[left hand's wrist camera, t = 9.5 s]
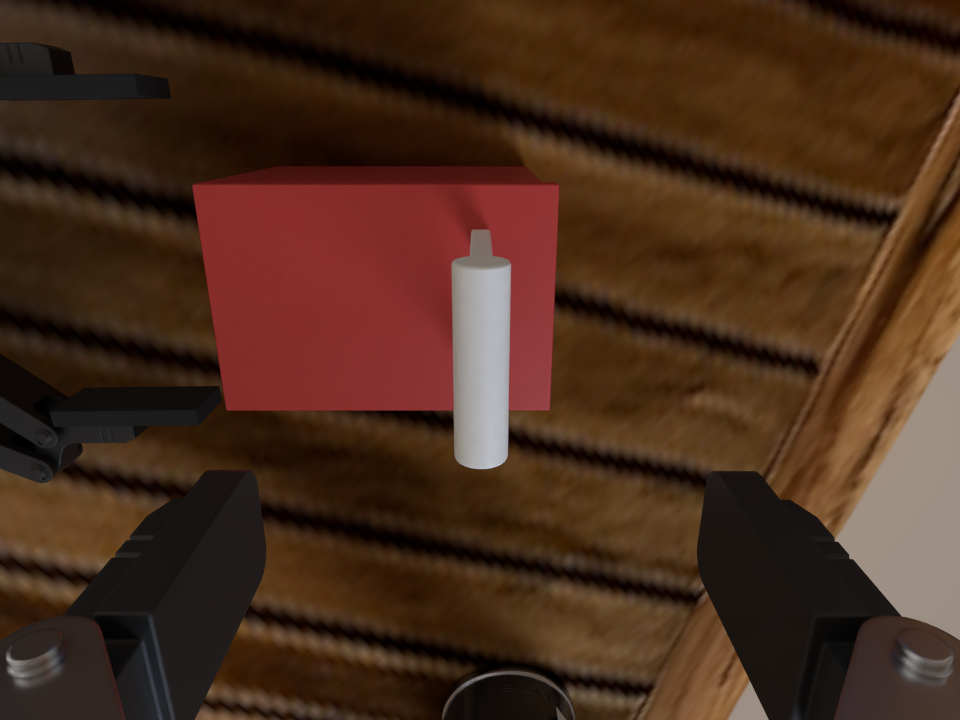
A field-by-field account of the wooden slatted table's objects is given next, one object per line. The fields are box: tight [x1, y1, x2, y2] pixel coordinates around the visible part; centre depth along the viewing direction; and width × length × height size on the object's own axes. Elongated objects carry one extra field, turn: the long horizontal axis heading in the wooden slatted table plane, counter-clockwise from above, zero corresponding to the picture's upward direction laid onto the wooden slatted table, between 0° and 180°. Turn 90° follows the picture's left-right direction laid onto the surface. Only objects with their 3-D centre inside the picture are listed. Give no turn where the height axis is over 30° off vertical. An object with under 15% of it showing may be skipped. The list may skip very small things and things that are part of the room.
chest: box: [206, 166, 541, 182], centre depth 30 cm, size 13×9×9 cm
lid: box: [192, 182, 559, 469], centre depth 22 cm, size 13×9×8 cm
